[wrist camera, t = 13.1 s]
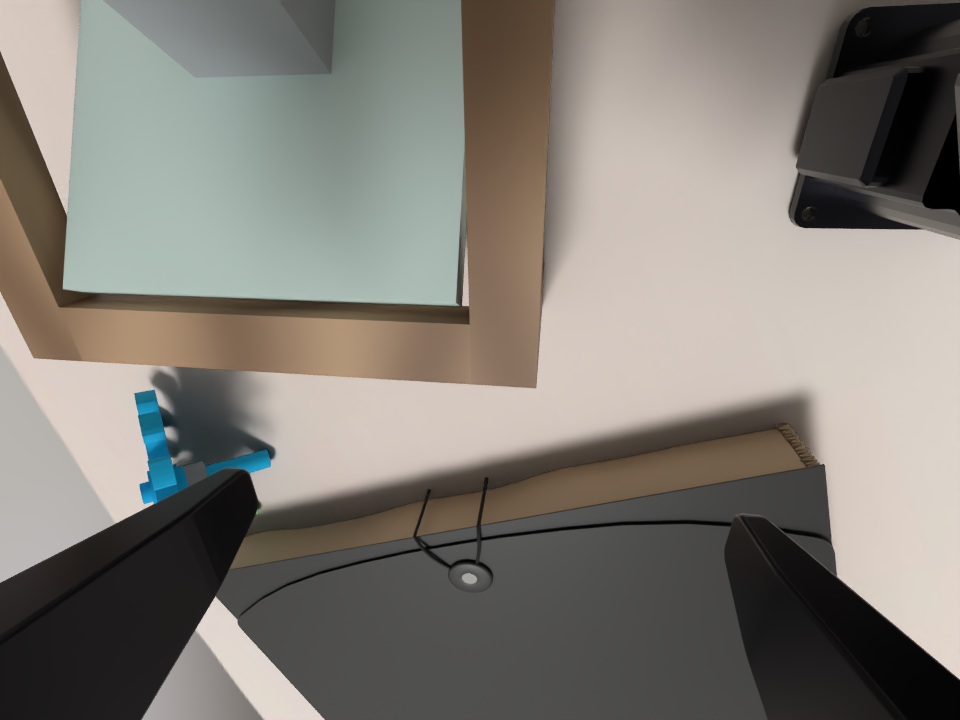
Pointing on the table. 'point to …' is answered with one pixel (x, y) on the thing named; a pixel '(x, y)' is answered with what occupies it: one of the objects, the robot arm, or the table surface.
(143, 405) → the gear
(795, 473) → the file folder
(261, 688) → the table surface
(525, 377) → the frame
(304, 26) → the stone block
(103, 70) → the trapdoor
